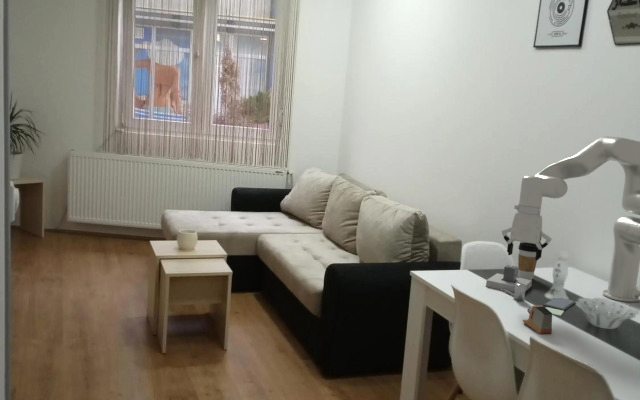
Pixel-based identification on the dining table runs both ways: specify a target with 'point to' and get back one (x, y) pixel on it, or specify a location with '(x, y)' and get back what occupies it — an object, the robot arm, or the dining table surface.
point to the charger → (510, 273)
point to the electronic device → (539, 319)
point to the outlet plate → (506, 283)
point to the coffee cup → (526, 260)
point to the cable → (508, 292)
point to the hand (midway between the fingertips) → (523, 257)
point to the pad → (555, 311)
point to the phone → (559, 303)
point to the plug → (519, 292)
